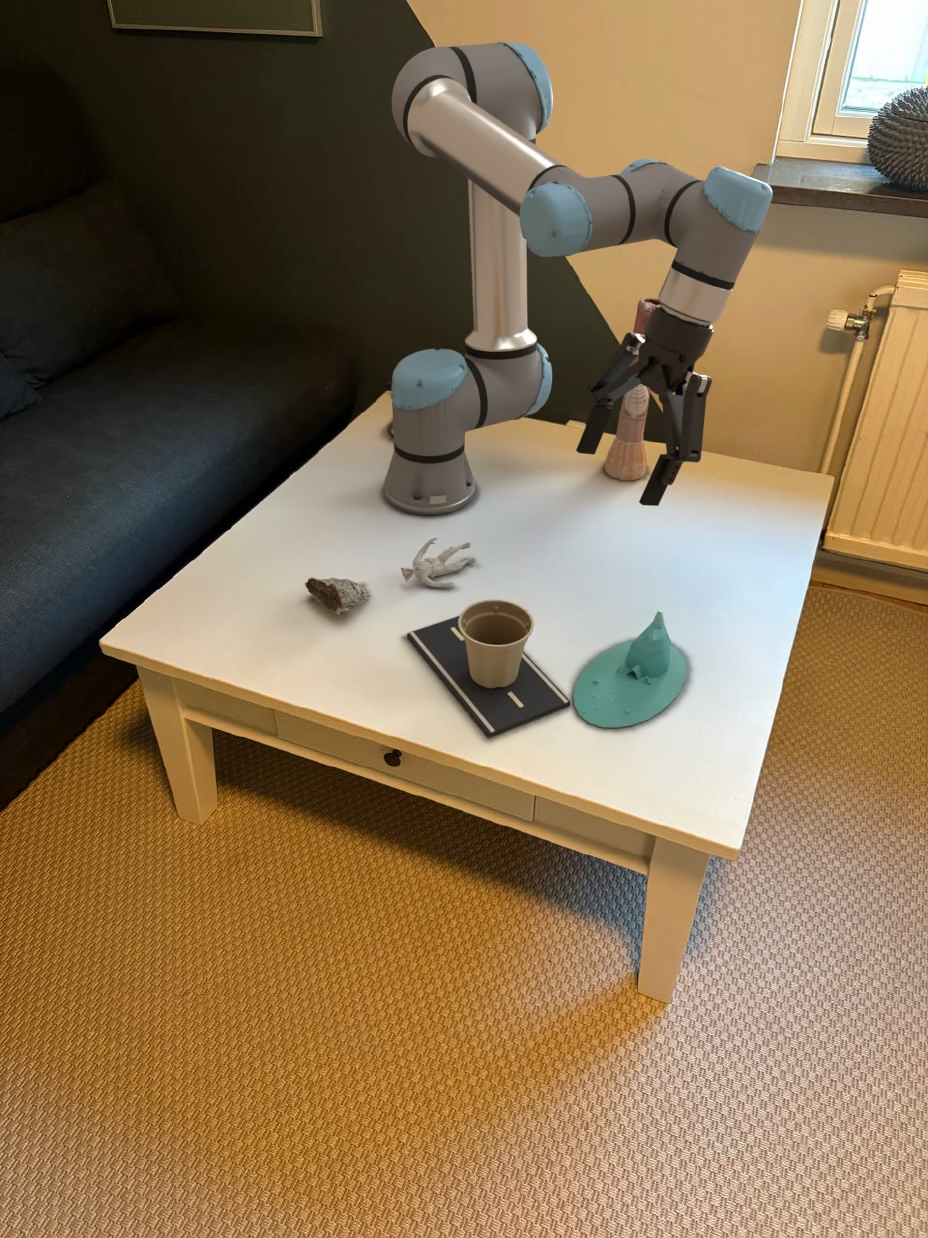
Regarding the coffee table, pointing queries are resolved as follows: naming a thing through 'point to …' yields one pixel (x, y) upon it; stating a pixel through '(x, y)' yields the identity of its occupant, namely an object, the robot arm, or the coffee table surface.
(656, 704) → the diorama
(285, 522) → the coffee table surface
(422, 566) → the soldier figure
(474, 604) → the flower pot
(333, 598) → the rock sample
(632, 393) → the vase
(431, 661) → the road
